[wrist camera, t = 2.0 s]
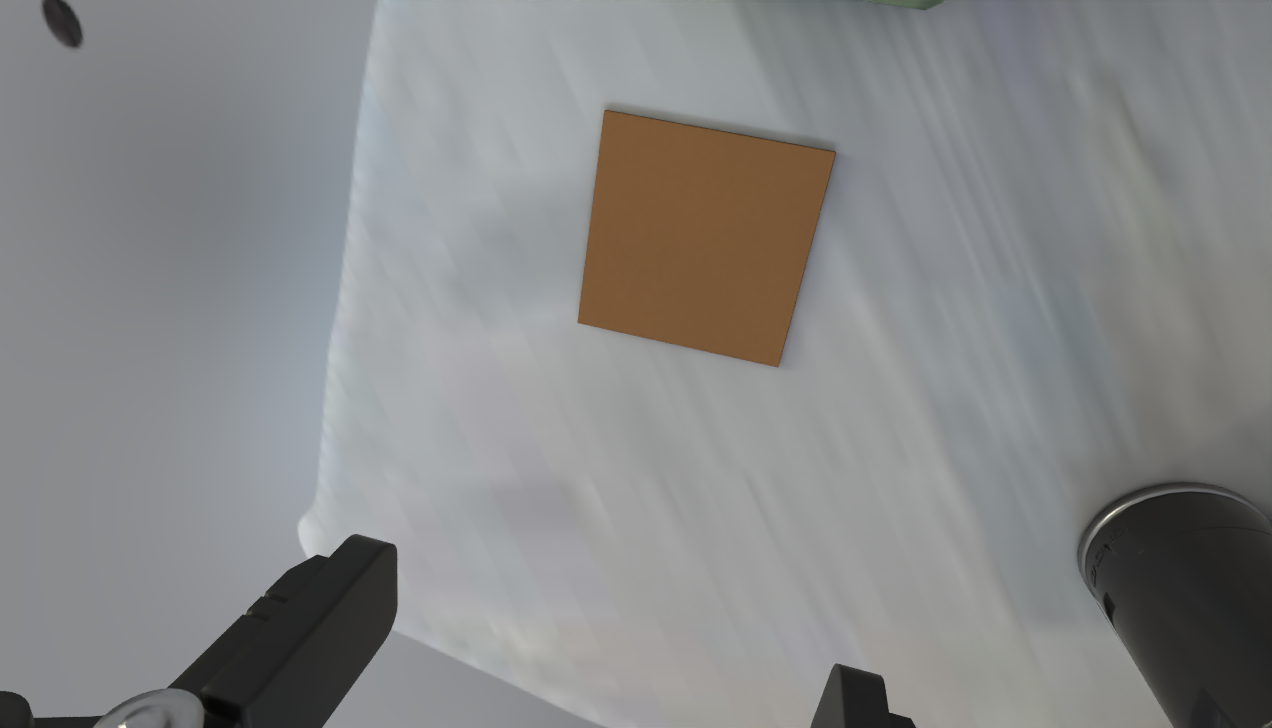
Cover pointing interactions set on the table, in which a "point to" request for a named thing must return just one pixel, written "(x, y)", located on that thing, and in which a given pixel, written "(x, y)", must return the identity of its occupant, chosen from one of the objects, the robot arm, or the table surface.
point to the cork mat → (700, 235)
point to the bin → (911, 3)
